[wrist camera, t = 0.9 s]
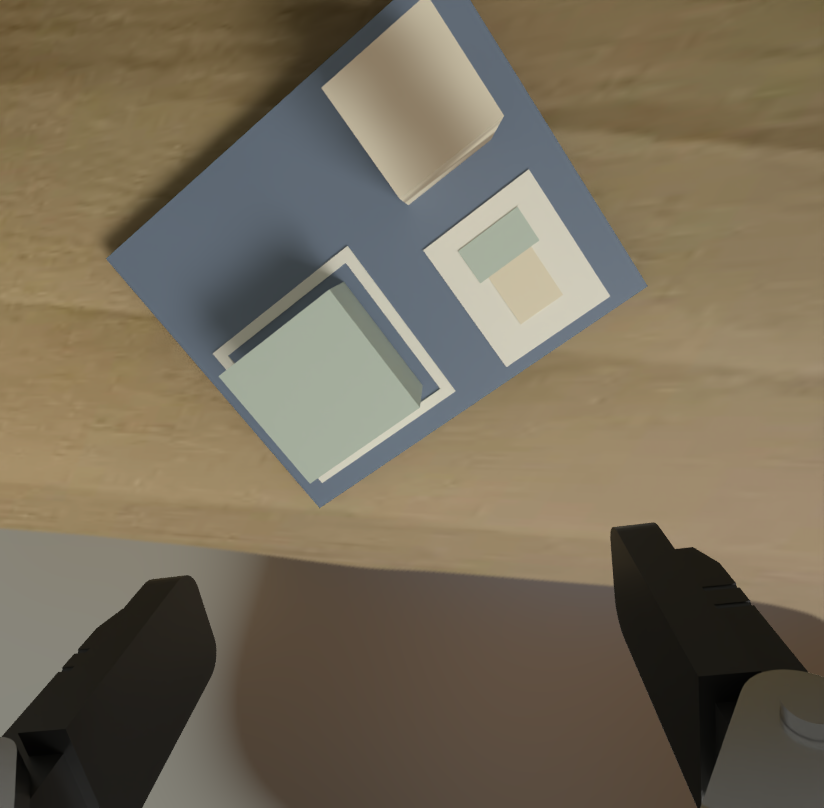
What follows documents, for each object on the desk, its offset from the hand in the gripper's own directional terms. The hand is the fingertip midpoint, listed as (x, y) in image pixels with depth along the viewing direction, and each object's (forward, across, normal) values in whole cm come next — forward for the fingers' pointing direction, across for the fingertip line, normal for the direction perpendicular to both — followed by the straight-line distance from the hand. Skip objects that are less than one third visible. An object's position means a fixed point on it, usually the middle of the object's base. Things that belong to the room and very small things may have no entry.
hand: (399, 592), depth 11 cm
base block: (+21, +5, 0) cm, 21 cm away
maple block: (+21, -1, -11) cm, 24 cm away
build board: (+22, +2, -5) cm, 23 cm away
